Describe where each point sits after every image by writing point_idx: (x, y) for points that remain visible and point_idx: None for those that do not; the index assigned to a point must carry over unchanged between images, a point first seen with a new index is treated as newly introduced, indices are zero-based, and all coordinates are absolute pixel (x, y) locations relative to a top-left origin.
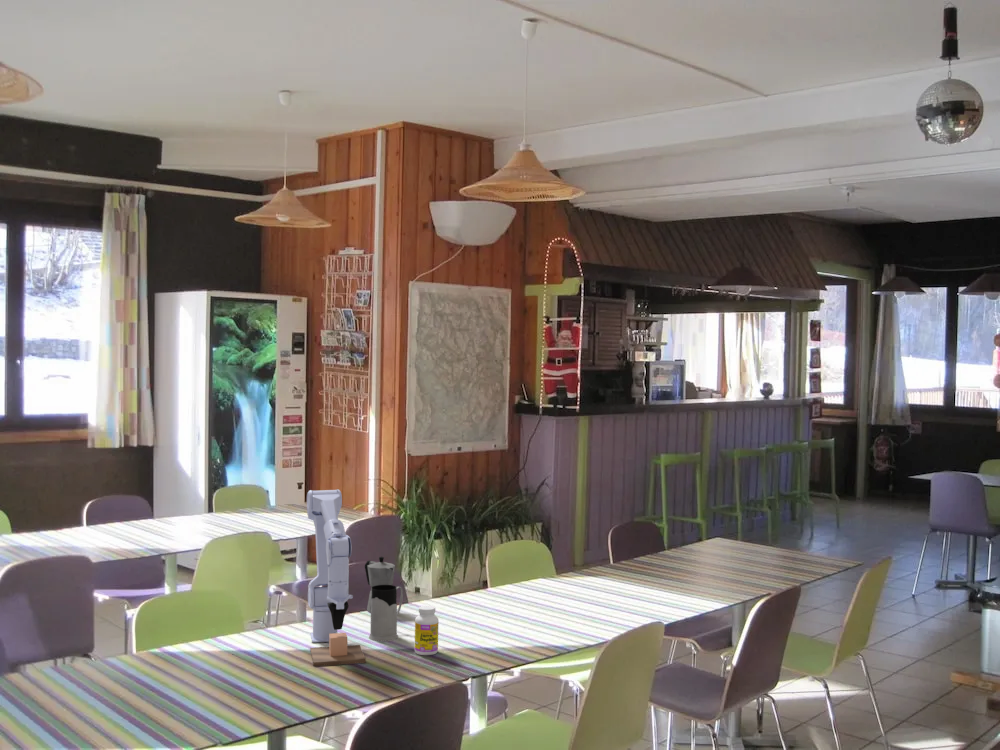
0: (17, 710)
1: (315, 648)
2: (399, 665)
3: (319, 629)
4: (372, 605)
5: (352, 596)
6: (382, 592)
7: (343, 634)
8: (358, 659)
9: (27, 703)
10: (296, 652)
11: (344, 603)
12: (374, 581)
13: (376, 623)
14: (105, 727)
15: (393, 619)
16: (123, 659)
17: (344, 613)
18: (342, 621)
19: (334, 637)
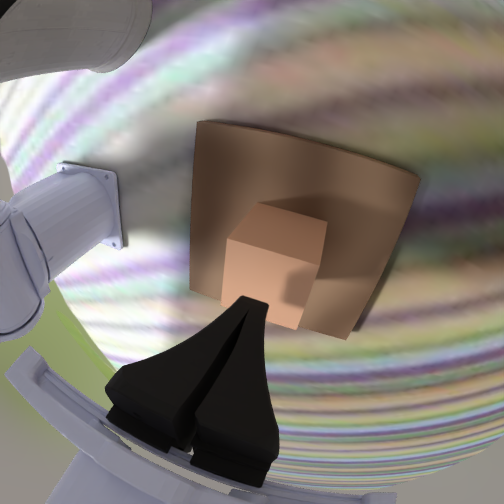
0: (308, 485)
1: (200, 281)
2: (497, 78)
3: (90, 246)
4: (5, 74)
5: (172, 501)
6: None
7: (255, 260)
8: (409, 206)
9: (295, 482)
10: (196, 312)
11: (177, 428)
12: None
13: (82, 46)
14: (391, 478)
15: None
16: None
17: (266, 392)
18: (263, 340)
19: (293, 315)
